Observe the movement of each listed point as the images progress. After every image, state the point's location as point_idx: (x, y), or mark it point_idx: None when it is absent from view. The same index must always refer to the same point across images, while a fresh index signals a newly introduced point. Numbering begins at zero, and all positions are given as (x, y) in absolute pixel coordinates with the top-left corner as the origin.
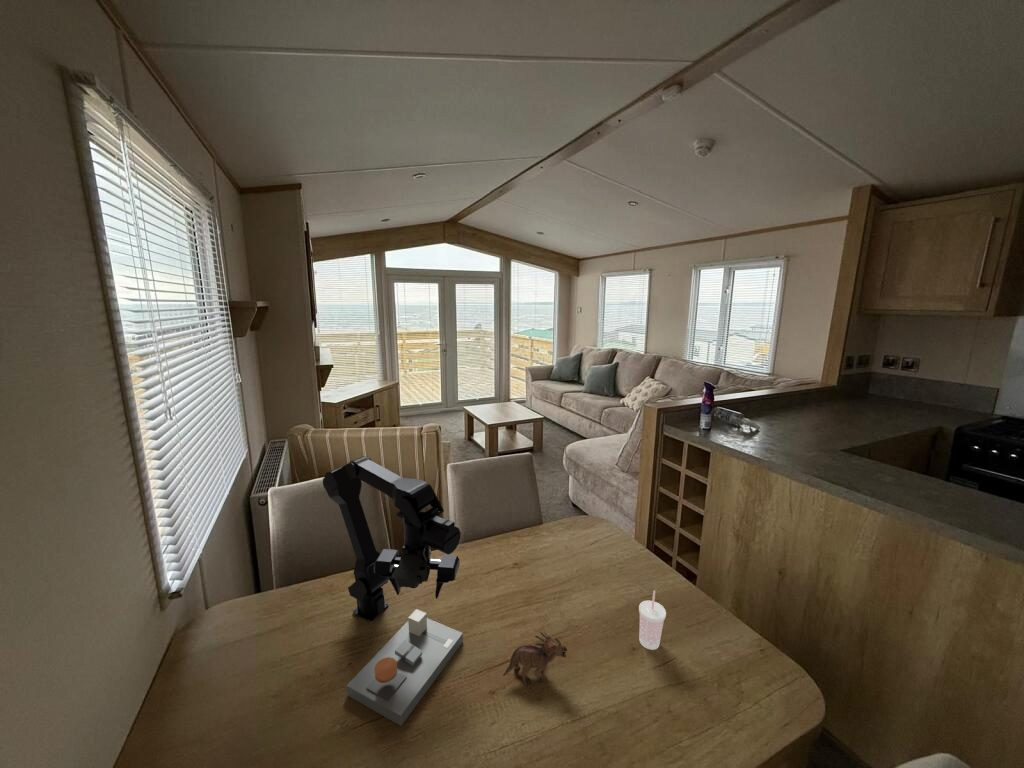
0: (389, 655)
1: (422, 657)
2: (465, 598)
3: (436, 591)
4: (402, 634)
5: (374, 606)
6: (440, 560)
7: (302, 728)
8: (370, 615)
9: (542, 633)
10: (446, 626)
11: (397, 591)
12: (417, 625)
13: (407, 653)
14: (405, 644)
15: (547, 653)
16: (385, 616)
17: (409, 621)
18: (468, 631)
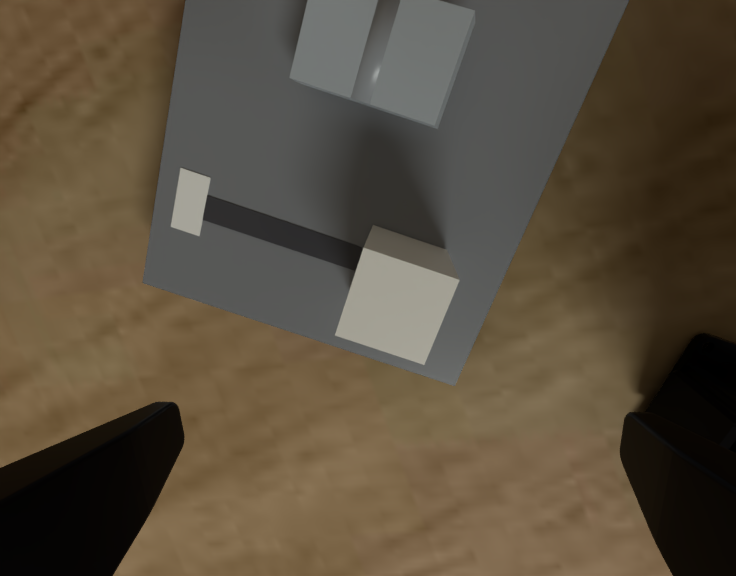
0: (514, 51)
1: None
2: (256, 504)
3: (62, 459)
4: (481, 228)
5: (733, 401)
6: None
7: None
8: (717, 366)
9: None
10: (245, 315)
11: (677, 438)
12: (377, 244)
13: (376, 16)
14: (416, 86)
15: None
16: (623, 374)
17: (446, 267)
18: (171, 329)
